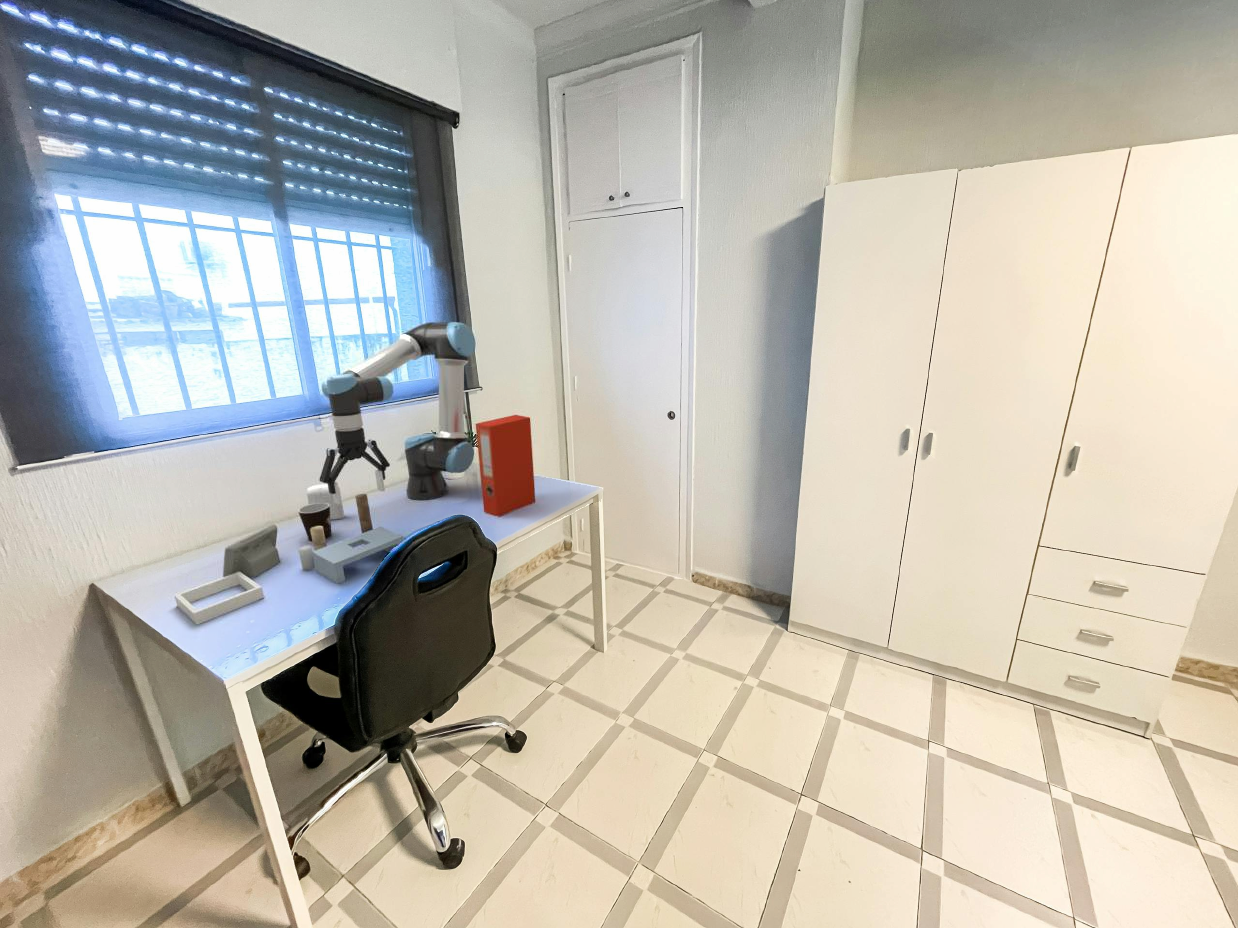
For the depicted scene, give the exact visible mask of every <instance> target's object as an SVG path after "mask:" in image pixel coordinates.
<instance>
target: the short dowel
mask: <svg viewBox="0 0 1238 928" xmlns="http://www.w3.org/2000/svg"><path fill="white" fill-rule="evenodd" d="M297 551H298V555H299V559H300V563H301V567H302V570H303V571H310V570H313V569H315V564H314V559H313V555H312V552H313V547H312V546H311V545H304V546H301V547H299V548H298V550H297Z"/></svg>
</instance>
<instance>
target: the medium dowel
mask: <svg viewBox="0 0 1238 928" xmlns="http://www.w3.org/2000/svg"><path fill="white" fill-rule="evenodd" d="M310 531H311V536H312V540H313V541H312V544H313V550H314V551H316V550H318V549H321V548H324V547H326V546H328V545H327V541H326V540H327V539H325V535H324V530H323V526H315V527H312V528H311V529H310Z"/></svg>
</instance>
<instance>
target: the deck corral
mask: <svg viewBox="0 0 1238 928" xmlns="http://www.w3.org/2000/svg"><path fill="white" fill-rule="evenodd" d="M238 585H240V586H241V587H243V588H244V589H245V591H244V592H240V593H238V594H236V595H233V596H231V597H228V598H226V599H223V600H220V601H218V602H215V603H212V604H209V605H207V606H204V607H201V608H200V609H197V608H196V607H194V605H192V603H193V602H196V601H199V600H201V599H204V598H206V597H208V596H212V595H214V594H216V593H219V592H222V591H225V590H227V589H231V588H233V587H236V586H238ZM173 596H174V599H175V603H176V605H177V608H179V609H180V610H181V611H182V612H183V613H185V614H186V616H187V617H189V618H190V619H191V620H192V622H194V623H195V624H196V625H200V624H204V623H205V622H208V621H210V620H212V619H215V618H217V617H220V616H222V615H224V614H227V613H229V612H232V611H235V610H237V609H239V608H242V607H245V606H247V605H249V604H252V603H254V602H257V601H259V600H262V599H264V598H265V595H264V590H263V587H262V586H261V585H259V584H258V583H257V582H255V581H254V580H252V579H251V577H247V576H245V575H244V574H242V573H241V572H237V573H234V574H231V575H229V576H226V577H223V576H222V577H220V578H218V579H215V580H212V581H208V582H207V583H204V584H201V585H199V586H195V587H193V588H189V589H187V590H184V591H182V592H179V593H175V594H173Z"/></svg>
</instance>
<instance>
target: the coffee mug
mask: <svg viewBox="0 0 1238 928" xmlns="http://www.w3.org/2000/svg"><path fill="white" fill-rule="evenodd" d="M297 511H298V515H299V517H300V520H301V522H302V525H303V528H304V530H305V533H306V536H307V538H308V541H310V542H313V540H312V536H311V531H310V529H311V528H312V527H315V526H323V530H324V535H325V540H328V539H329V538H330V537H332V524H331V520H330V505H329V504H328V503H314V504H309V503H308V504H307V505H304V506H301V507H300V508H298V510H297Z"/></svg>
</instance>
